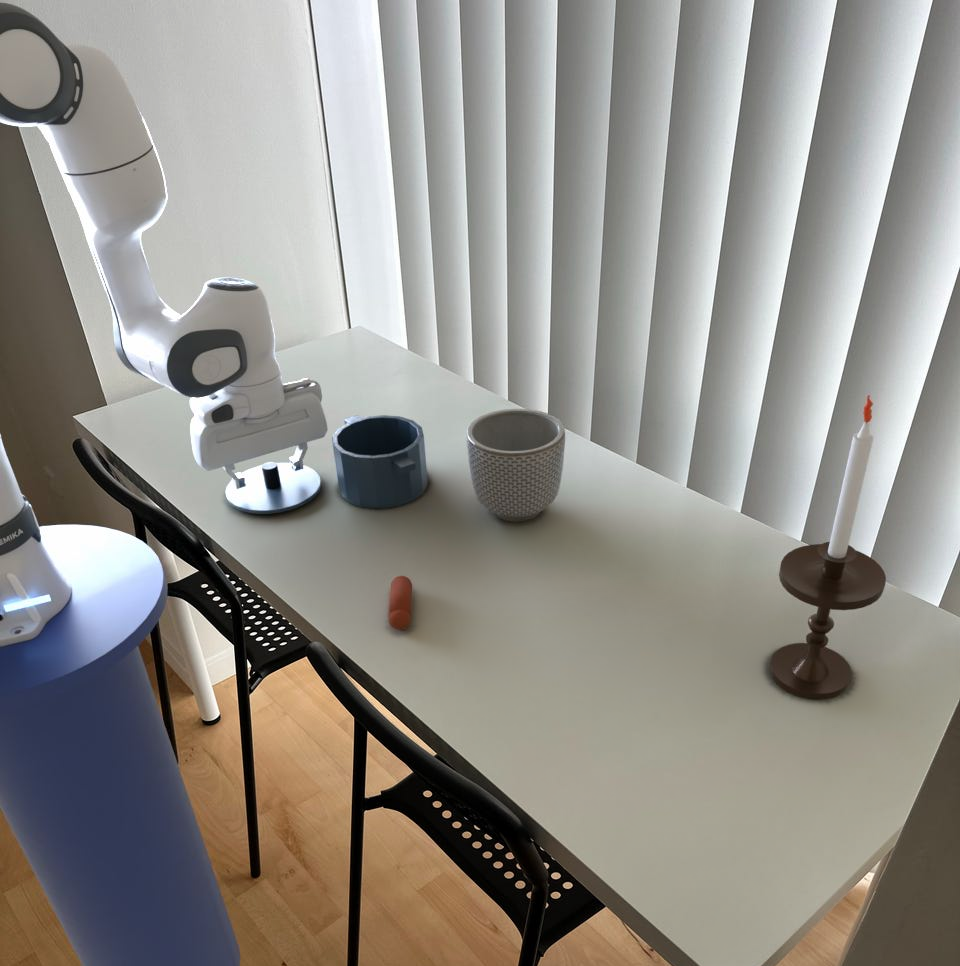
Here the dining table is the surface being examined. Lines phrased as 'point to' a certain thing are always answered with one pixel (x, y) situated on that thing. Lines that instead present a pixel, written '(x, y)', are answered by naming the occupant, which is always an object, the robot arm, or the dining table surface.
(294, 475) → the lid
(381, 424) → the pot
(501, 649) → the dining table surface
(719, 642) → the dining table surface
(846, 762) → the dining table surface
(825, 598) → the candlestick
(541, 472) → the planter
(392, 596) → the sausage
